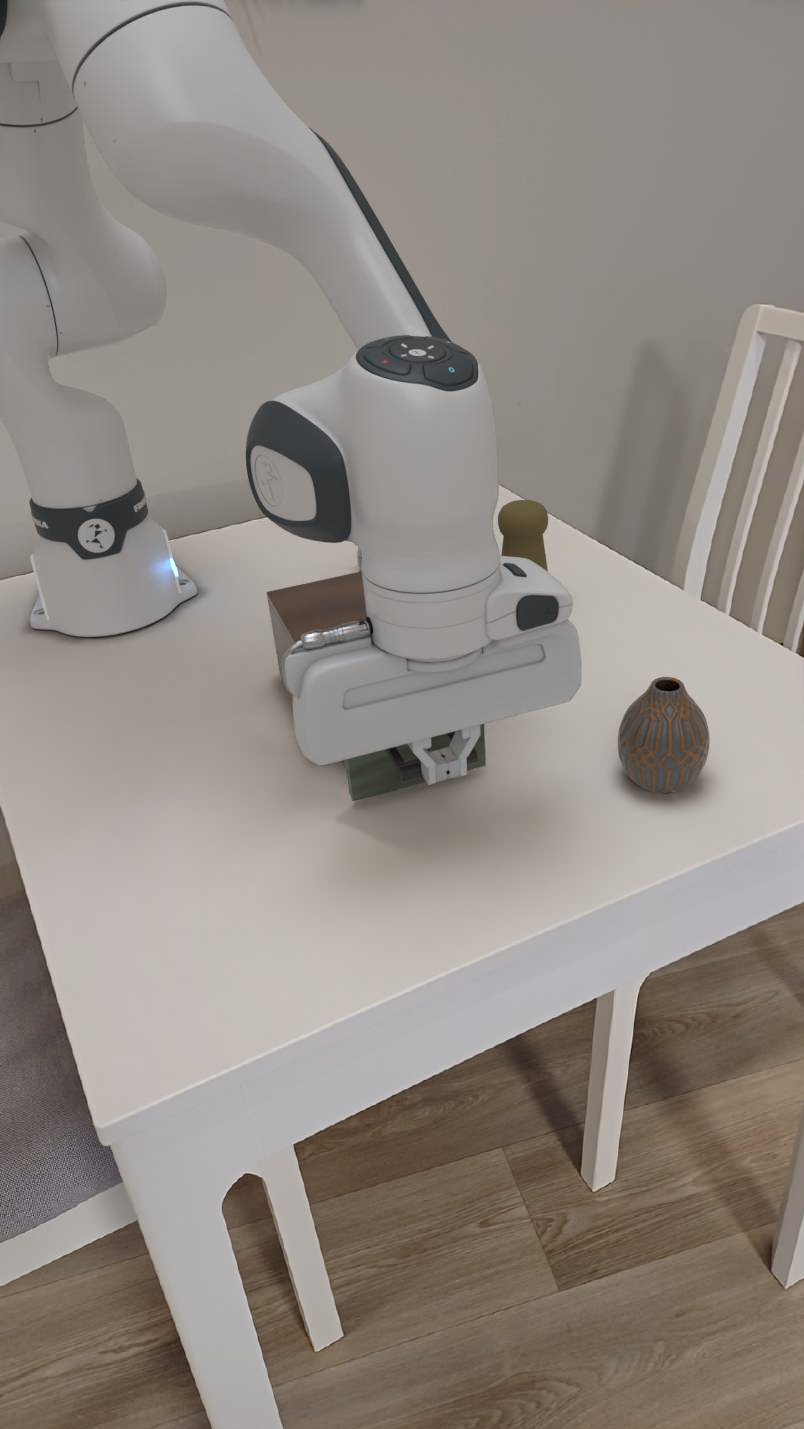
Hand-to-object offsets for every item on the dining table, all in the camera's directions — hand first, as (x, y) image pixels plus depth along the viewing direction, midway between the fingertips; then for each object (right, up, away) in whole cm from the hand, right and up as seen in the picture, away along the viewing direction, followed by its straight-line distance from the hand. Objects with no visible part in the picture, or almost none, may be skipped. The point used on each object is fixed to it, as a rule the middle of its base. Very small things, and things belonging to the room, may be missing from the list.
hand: (444, 775), depth 72 cm
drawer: (-3, +1, +11) cm, 11 cm away
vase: (+18, -1, +7) cm, 19 cm away
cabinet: (-7, +6, +21) cm, 23 cm away
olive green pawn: (+10, +17, +36) cm, 41 cm away
